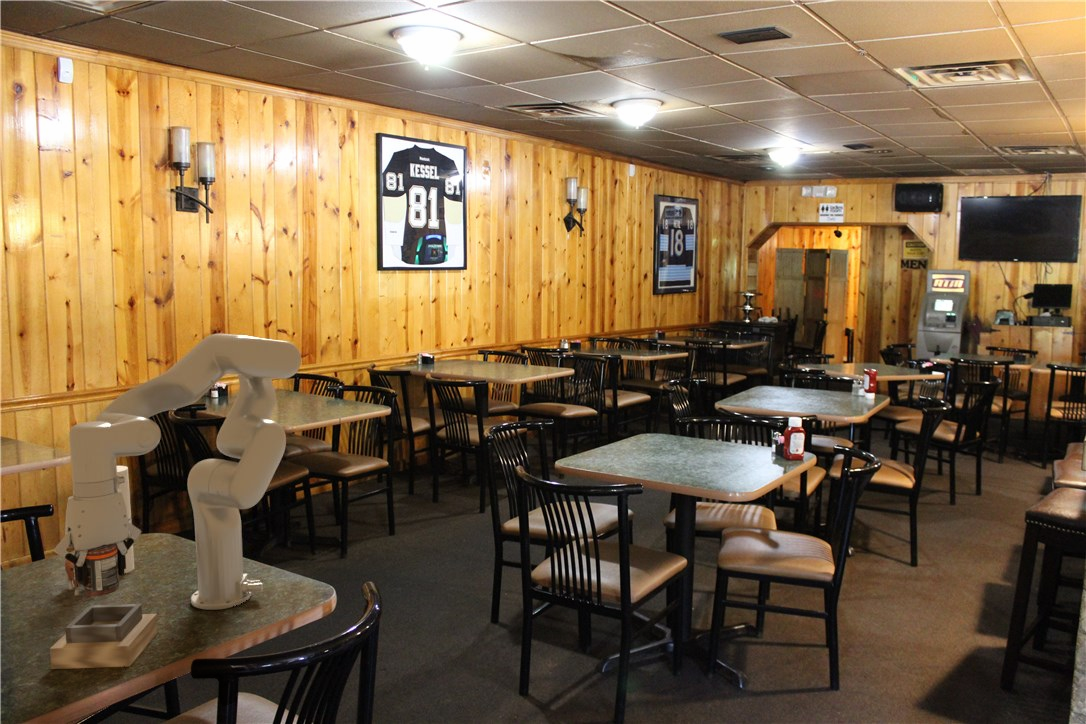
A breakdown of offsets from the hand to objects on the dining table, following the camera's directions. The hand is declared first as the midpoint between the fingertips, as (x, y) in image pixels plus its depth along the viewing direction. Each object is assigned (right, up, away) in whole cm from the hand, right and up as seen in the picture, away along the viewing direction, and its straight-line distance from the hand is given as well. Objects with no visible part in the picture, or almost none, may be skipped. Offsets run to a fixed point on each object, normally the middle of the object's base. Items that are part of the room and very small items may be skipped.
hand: (101, 578), depth 161 cm
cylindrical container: (-18, -9, +42) cm, 47 cm away
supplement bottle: (0, -3, 0) cm, 3 cm away
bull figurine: (-20, -11, +29) cm, 37 cm away
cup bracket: (0, -14, +2) cm, 15 cm away
